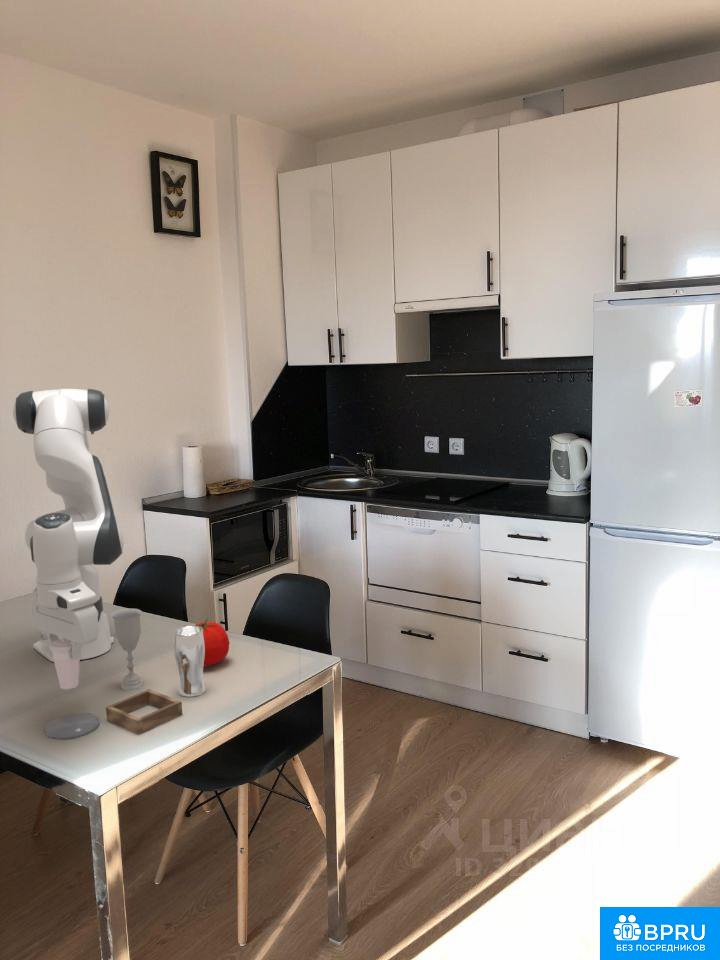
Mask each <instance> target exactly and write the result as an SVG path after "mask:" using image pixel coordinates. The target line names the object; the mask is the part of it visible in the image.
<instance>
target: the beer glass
mask: <svg viewBox="0 0 720 960" xmlns="http://www.w3.org/2000/svg"><path fill="white" fill-rule="evenodd" d="M173 650H174V656H175V662H176V666H177V669H178V673H179V690H178V693H179V695H180V696H182V697H186V698H187V697H188V698H191V697H198V696H200V695H203V694H204V693H205V692H206V685H205V681H204V667H205V666H204V658H205V643H204V636H203V629H202V628H201V627H199V626H195V625H187V626H181V627H178V628H176V629H175V630H174V631H173Z"/></svg>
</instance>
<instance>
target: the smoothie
mask: <svg viewBox="0 0 720 960" xmlns="http://www.w3.org/2000/svg"><path fill="white" fill-rule="evenodd" d="M72 646H73V645H71V640H68V639H65V638H62V637H61V639H58V640H55V641H53V642H51V643H50V650H51V651H52V654H53V658H54V662H53V663H54V666H55V672H56V674H57V678H58V679H57V680H58V683H59V688H60V689H62V690H71V689H74V688H77V687H78V686H79V679H80V663H81V662H80V659H77V660H74V659H72V658H70V651H71V650H72Z"/></svg>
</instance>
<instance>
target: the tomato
mask: <svg viewBox="0 0 720 960" xmlns="http://www.w3.org/2000/svg"><path fill="white" fill-rule="evenodd" d="M194 626H199V627H201V628H202V629H203V636H204V643H205V658H204V667H210V666H214V665H216V664H218V663H220V662H221V661H223V660H224V659H225V658H226V657H227V655H228V654H229V651H230V639H229V636H228V633H227V631H226V629H225V628H224V627H223V626H222V625H220V624H219V623H218V622H214V621H210V622H208V618H206V620H205V621H204V622H203V621H202V622H199V623H196V624H195V625H194Z"/></svg>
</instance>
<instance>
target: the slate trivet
mask: <svg viewBox="0 0 720 960" xmlns="http://www.w3.org/2000/svg"><path fill="white" fill-rule="evenodd" d="M100 721H101V720H100V718H99V716H97V715H96V714H94V713H89V712H77V713H75V712H74V713H69V714H66V715H62V716H59V717H56V718H55V719H53V720H51V721H50V722H49V723H47V724H46V726H45V727H44V728H45V734H46V733H47V734H48V735H49V736H51V737H53V738H52V739H54V738H58V739H57V740H69V738H70V739H71V740H72V739H75V738H76V737H77V738H79V737H80V736H81V737H83V736H87V735H88V734H91V733H93V732H94V731H96V729H98V727H99V726H100ZM49 736H48V737H49ZM51 737H50V738H51Z"/></svg>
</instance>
